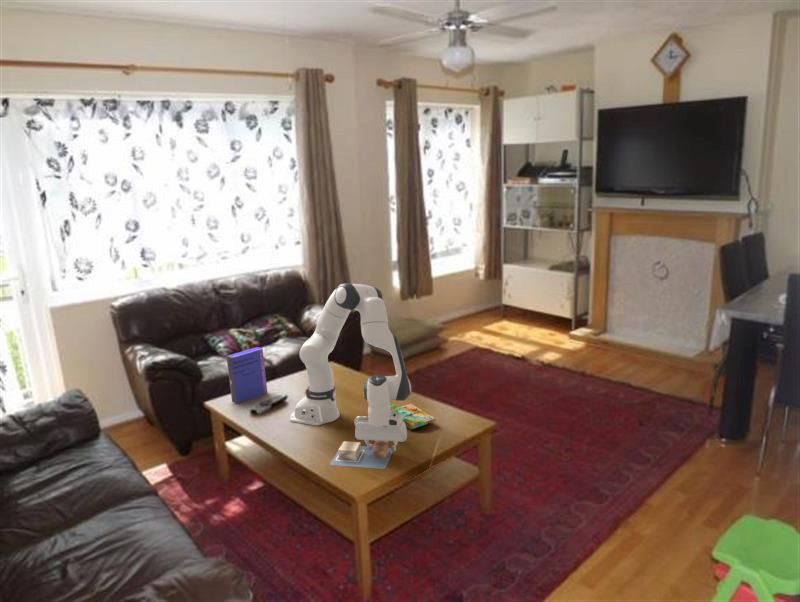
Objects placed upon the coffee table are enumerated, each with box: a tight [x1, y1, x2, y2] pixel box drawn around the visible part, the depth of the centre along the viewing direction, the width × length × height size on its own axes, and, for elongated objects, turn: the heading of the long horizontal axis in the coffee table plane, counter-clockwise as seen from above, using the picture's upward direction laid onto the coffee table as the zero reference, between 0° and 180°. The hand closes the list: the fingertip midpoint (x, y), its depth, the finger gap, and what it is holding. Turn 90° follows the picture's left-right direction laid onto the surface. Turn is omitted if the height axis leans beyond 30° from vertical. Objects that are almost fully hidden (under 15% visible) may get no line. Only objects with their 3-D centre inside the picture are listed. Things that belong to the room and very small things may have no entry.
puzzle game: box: [396, 403, 437, 430], centre depth 252 cm, size 12×5×20 cm
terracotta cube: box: [372, 440, 390, 458], centre depth 223 cm, size 5×5×5 cm
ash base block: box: [337, 441, 362, 460], centre depth 224 cm, size 7×7×4 cm
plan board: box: [328, 445, 394, 470], centre depth 223 cm, size 22×16×1 cm
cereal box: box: [226, 346, 268, 404], centre depth 285 cm, size 17×5×24 cm, turn 136°
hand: (381, 449), depth 223 cm, fingers open, 8 cm apart
